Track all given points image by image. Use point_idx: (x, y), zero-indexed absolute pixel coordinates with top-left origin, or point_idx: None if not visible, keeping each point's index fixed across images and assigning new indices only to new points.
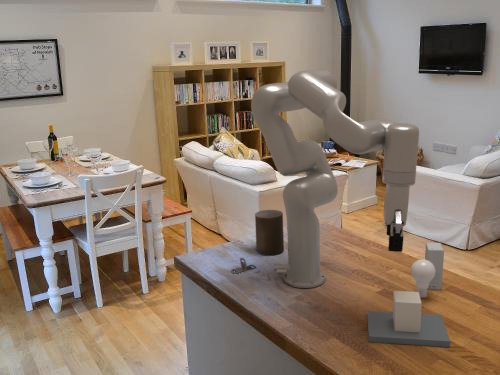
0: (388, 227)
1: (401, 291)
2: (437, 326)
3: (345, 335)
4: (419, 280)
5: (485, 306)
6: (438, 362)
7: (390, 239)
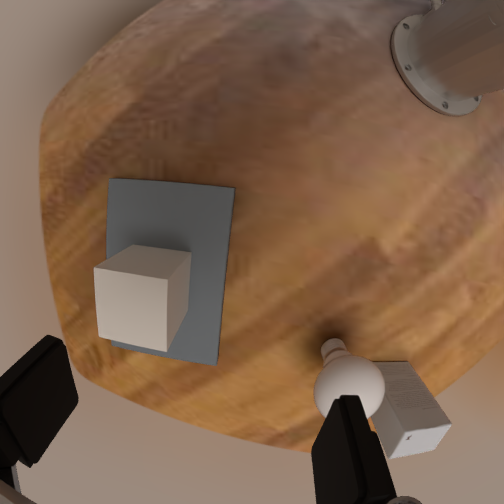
0: (345, 452)
1: (164, 303)
2: None
3: (142, 124)
4: (323, 368)
5: (276, 436)
6: (71, 302)
7: (3, 385)
